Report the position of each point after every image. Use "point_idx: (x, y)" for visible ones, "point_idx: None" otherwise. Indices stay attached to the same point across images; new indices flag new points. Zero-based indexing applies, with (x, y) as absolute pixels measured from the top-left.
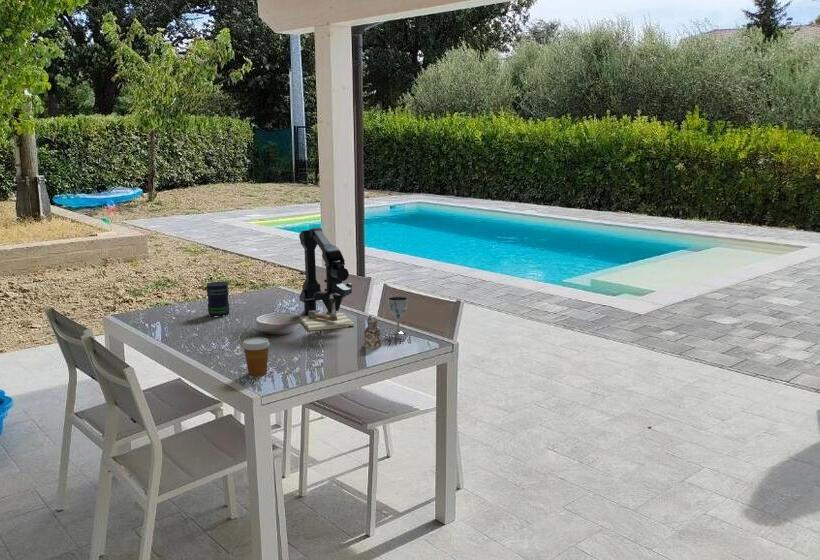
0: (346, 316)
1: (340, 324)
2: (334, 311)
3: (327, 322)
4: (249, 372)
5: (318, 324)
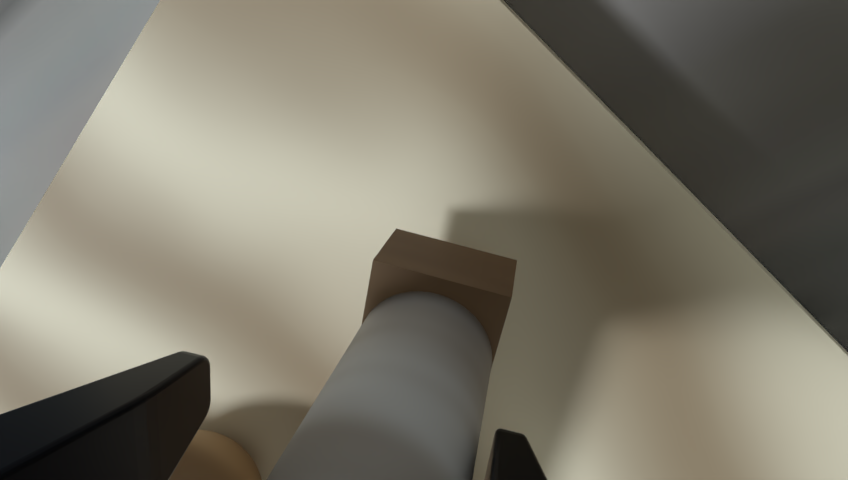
0: (3, 267)
1: (539, 44)
2: (402, 383)
3: (507, 375)
4: None
5: (714, 461)
